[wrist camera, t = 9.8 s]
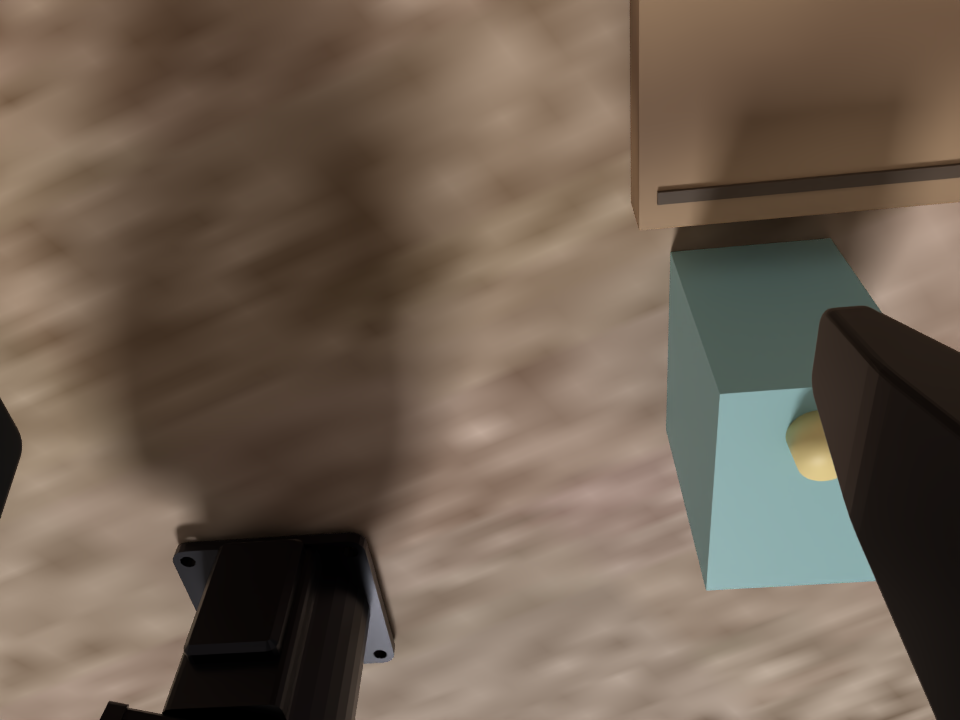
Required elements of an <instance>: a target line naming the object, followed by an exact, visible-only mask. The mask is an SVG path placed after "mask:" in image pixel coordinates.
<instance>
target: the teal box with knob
mask: <svg viewBox="0 0 960 720" xmlns="http://www.w3.org/2000/svg"><path fill="white" fill-rule="evenodd" d="M860 305H862V306H868V307H871V308H873V309H875V310H877V311H879V312H881V311H880V309H879V308H878V306H877V305H876V304H875V302H874V301H873V299H872V298H871V296H870V295H869V293H868V292H867V290H866V289H865V288H864V286H863V285H862V283H861V282H860V280H859V279H858V277H857V276H856V275H855V273H854V272H853V270H852V269H851V267H850V266H849V264H848V263H847V262H846V260H845V259H844V257H843V256H842V254H841V253H840V251H839V250H838V249H837V247H836V246H835V244H834V243H833V241H832V240H831V238H826V239H814V240H803V241H791V242H780V243H768V244H757V245H745V246H734V247H722V248H710V249H699V250H687V251H676V252H671V253H670V294H669V336H668V377H667V418H666V431H667V435H668V439H669V443H670V447H671V451H672V455H673V459H674V463H675V467H676V471H677V475H678V479H679V483H680V487H681V491H682V495H683V499H684V503H685V507H686V511H687V515H688V519H689V523H690V527H691V531H692V535H693V539H694V543H695V547H696V551H697V555H698V559H699V564H700V568H701V572H702V576H703V580H704V584H705V588H706V590H723V589H741V588H759V587H777V586H795V585H813V584H831V583H848V582H866V581H876V580H875V577H874V575H873V573H872V570H871V568H870V566H869V563H868V561H867V559H866V557H865V554H864V552H863V550H862V547H861V545H860V543H859V540H858V538H857V536H856V533H855V531H854V528H853V526H852V523H851V521H850V518H849V515H848V512H847V509H846V505H845V502H844V499H843V496H842V492H841V489H840V486H839V482H838V479H837V475H836V472H835V468H834V465H833V461H832V458H831V454H830V451H829V448H828V444H827V441H826V437H825V434H824V430H823V427H822V423H821V420H820V417H819V413H818V410H817V406H816V403H815V399H814V395H813V390H812V369H813V362H814V356H815V349H816V342H817V335H818V328H819V322H820V319H821V316H822V314H823V313H824V312H825V311H826V310H827V309H829V308H836V307H848V306H860ZM881 313H882V312H881Z"/></svg>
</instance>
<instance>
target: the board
mask: <svg viewBox="0 0 960 720" xmlns="http://www.w3.org/2000/svg"><path fill="white" fill-rule="evenodd" d="M630 95H631V204H632V207H633V211H634V214H635V218H636V221H637V224H638V228H639V230H650V229H662V228H673V227H684V226H695V225H707V224H718V223H729V222H740V221H752V220H763V219H774V218H785V217H797V216H808V215H819V214H830V213H842V212H853V211H864V210H875V209H887V208H898V207H909V206H920V205H932V204H943V203H954V202H960V0H630Z"/></svg>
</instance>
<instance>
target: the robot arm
mask: <svg viewBox="0 0 960 720" xmlns="http://www.w3.org/2000/svg"><path fill="white" fill-rule="evenodd" d="M812 390H813V395H814V399H815V403H816V406H817V410H818V413H819V417H820V420H821V423H822V427H823V430H824V434H825V437H826V441H827V444H828V448H829V451H830V454H831V458H832V461H833V465H834V468H835V472H836V475H837V479H838V482H839V486H840V489H841V492H842V496H843V499H844V502H845V505H846V509H847V512H848V515H849V518H850V521H851V523H852V526H853V528H854V531H855V533H856V536H857V538H858V540H859V543H860V545H861V547H862V550H863V552H864V554H865V557H866V559H867V561H868V563H869V566H870V568H871V570H872V573H873V575H874V577H875V580H876V582H877V584H878V586H879V589H880V591H881V593H882V596H883V598H884V600H885V603H886V605H887V607H888V609H889V612H890V614H891V616H892V619H893V621H894V623H895V626H896V628H897V630H898V632H899V635H900V637H901V639H902V642H903V644H904V646H905V649H906V651H907V653H908V655H909V658H910V660H911V662H912V665H913V667H914V669H915V672H916V674H917V676H918V678H919V681H920V683H921V685H922V688H923V690H924V692H925V695H926V697H927V699H928V701H929V704H930V706H931V708H932V711H933V713H934V715H935V717H936V720H960V352H958V351H956V350H954V349H952V348H950V347H948V346H946V345H944V344H942V343H940V342H938V341H936V340H934V339H932V338H930V337H928V336H926V335H924V334H922V333H920V332H918V331H916V330H914V329H912V328H910V327H908V326H906V325H904V324H902V323H900V322H898V321H897V320H895V319H893V318H891V317H889V316H887V315H885V314H883V313H881V312H879V311H877V310H875V309H873V308H871V307H868V306H862V305H860V306H848V307H836V308H829V309H827V310H826V311H825V312H824V313H823V314H822V316H821V319H820V322H819V328H818V335H817V342H816V349H815V356H814V362H813V369H812ZM21 453H22V440H21V436H20V433H19V431H18V429H17V427H16V425H15V423H14V421H13V420H12V418H11V416H10V414H9V413H8V411H7V409H6V407H5V405H4V404H3V402H2V400H1V398H0V518H1V515H2V512H3V509H4V506H5V503H6V500H7V497H8V494H9V491H10V487H11V484H12V481H13V478H14V475H15V472H16V469H17V466H18V463H19V460H20V457H21ZM349 547H353V548H349ZM173 563H174V565H175V567H176V569H177V571H178V573H179V576H180V578H181V580H182V582H183V584H184V586H185V588H186V590H187V592H188V594H189V597H190V599H191V601H192V603H193V605H194V607H195V609H196V611H197V612H196V615H195V617H194V620H193V623H192V626H191V629H190V631H189V634H188V637H187V640H186V643H185V645H184V653H183V655H182V658H181V661H180V664H179V667H178V670H177V672H176V675H175V678H174V681H173V684H172V686H171V689H170V692H169V695H168V698H167V701H166V703H165V706H164V709H163V712H162V714H158V713H153V712H148V711H142V710H137V709H132V708H128V707H129V704H124V703H118V702H113V701H109V702H108V704H107V706H106V708H105V710H104V712H103V714H102V716H101V718H100V720H355V715H356V708H357V702H358V695H359V689H360V682H361V675H362V669H363V664H366V663H384V662H388V661H390V660H392V658H393V657H394V650H395V643H394V639H393V636H392V632H391V628H390V625H389V621H388V617H387V614H386V610H385V606H384V603H383V599H382V595H381V592H380V588H379V584H378V580H377V577H376V573H375V569H374V566H373V562H372V558H371V555H370V551H369V547H368V544H367V541H366V539H365V538H364V537H363V536H361V535H360V534H357V533H350V532H348V533H332V534H316V535H300V536H284V537H268V538H252V539H236V540H220V541H204V542H188V543H183V544H181V545H179V546H178V548H177V550H176V552H175V555H174V557H173Z"/></svg>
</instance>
